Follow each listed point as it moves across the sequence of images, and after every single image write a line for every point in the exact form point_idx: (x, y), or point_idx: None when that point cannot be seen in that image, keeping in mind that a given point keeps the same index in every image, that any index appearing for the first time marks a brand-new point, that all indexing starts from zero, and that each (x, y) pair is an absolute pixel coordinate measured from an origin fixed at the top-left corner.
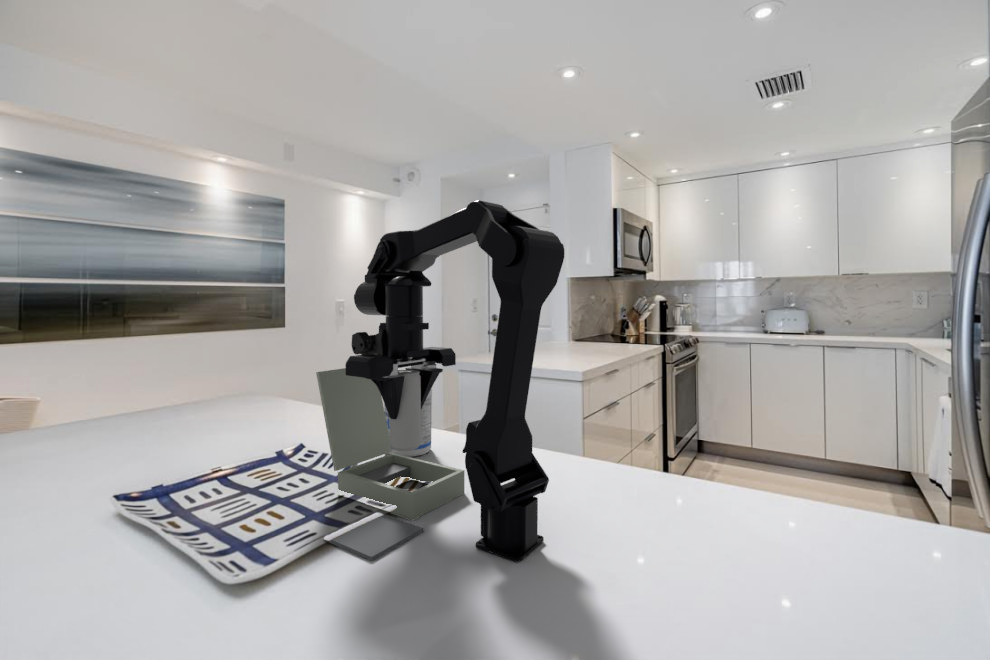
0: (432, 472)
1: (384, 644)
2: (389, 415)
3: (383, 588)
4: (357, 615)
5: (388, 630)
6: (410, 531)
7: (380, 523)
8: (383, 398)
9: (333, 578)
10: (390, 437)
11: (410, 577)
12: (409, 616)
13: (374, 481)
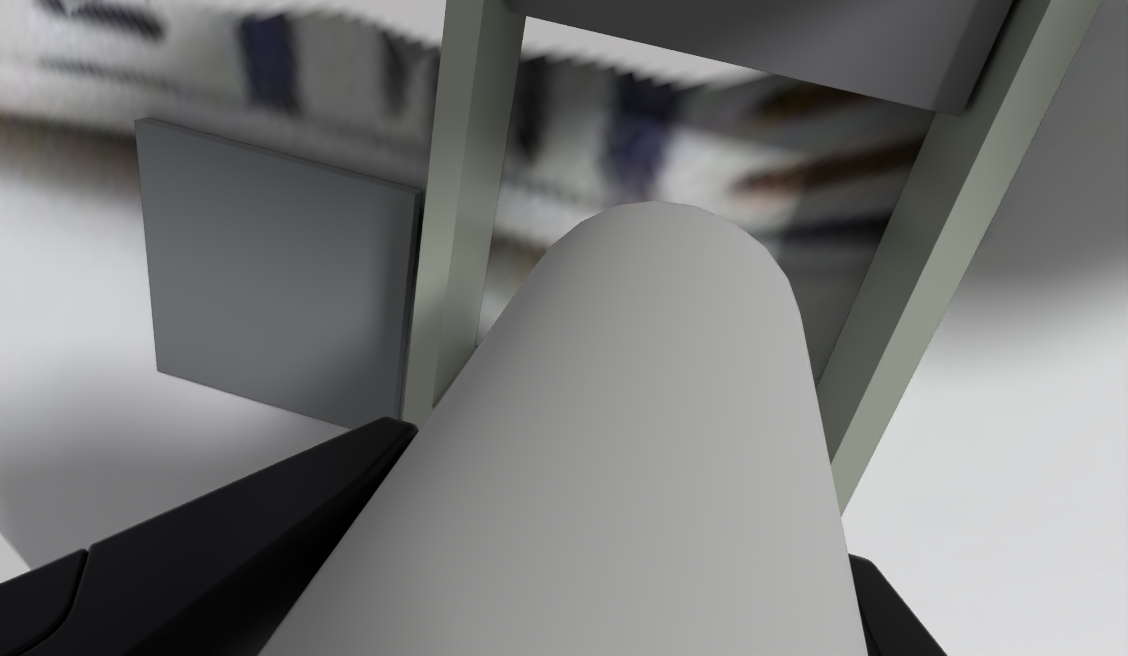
0: (874, 323)
1: (8, 525)
2: (360, 433)
3: (109, 451)
4: (15, 443)
5: (34, 517)
6: (346, 410)
7: (336, 275)
8: (93, 564)
9: (48, 309)
10: (547, 260)
11: (181, 491)
12: (86, 537)
13: (456, 139)
